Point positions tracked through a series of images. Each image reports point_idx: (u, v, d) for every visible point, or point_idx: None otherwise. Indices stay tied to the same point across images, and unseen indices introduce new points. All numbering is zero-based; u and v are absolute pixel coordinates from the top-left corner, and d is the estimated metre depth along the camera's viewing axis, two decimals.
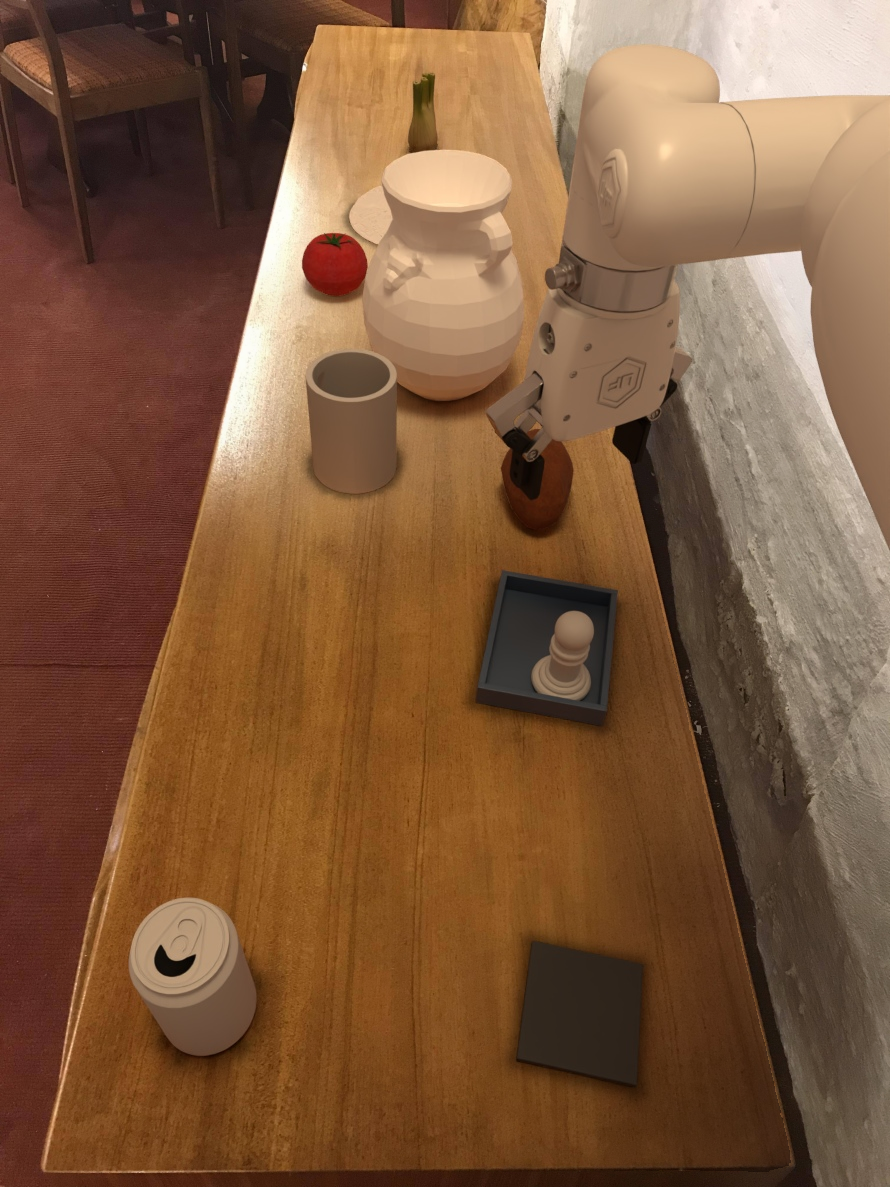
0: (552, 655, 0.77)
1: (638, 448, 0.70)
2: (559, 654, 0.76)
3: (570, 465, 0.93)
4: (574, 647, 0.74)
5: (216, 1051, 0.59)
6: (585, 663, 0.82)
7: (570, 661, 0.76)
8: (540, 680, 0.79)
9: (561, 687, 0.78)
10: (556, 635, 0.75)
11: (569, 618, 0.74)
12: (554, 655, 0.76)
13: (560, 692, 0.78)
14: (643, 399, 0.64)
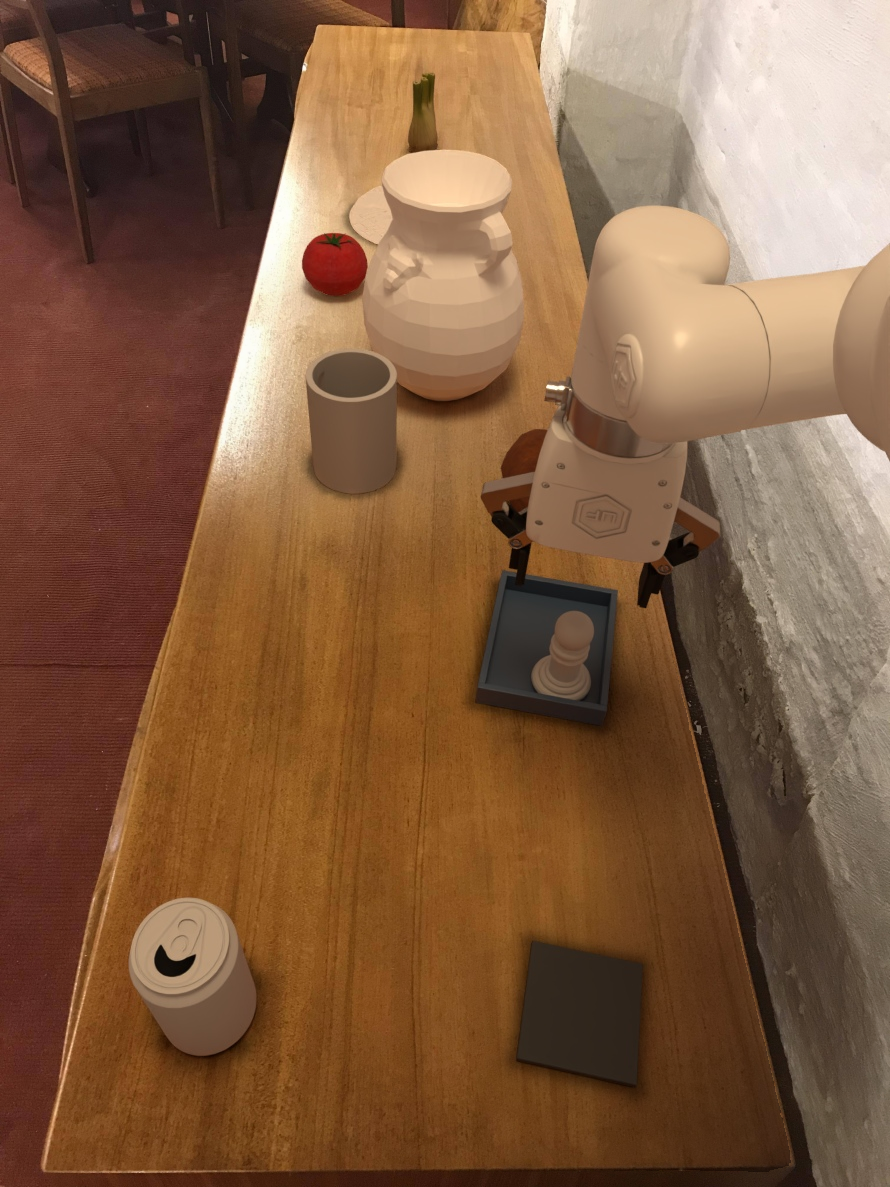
0: (552, 655, 0.77)
1: (642, 593, 0.68)
2: (559, 654, 0.76)
3: None
4: (574, 647, 0.74)
5: (216, 1051, 0.59)
6: (585, 663, 0.82)
7: (570, 661, 0.76)
8: (540, 680, 0.79)
9: (561, 687, 0.78)
10: (556, 635, 0.75)
11: (569, 618, 0.74)
12: (554, 655, 0.76)
13: (560, 692, 0.78)
14: (630, 544, 0.63)
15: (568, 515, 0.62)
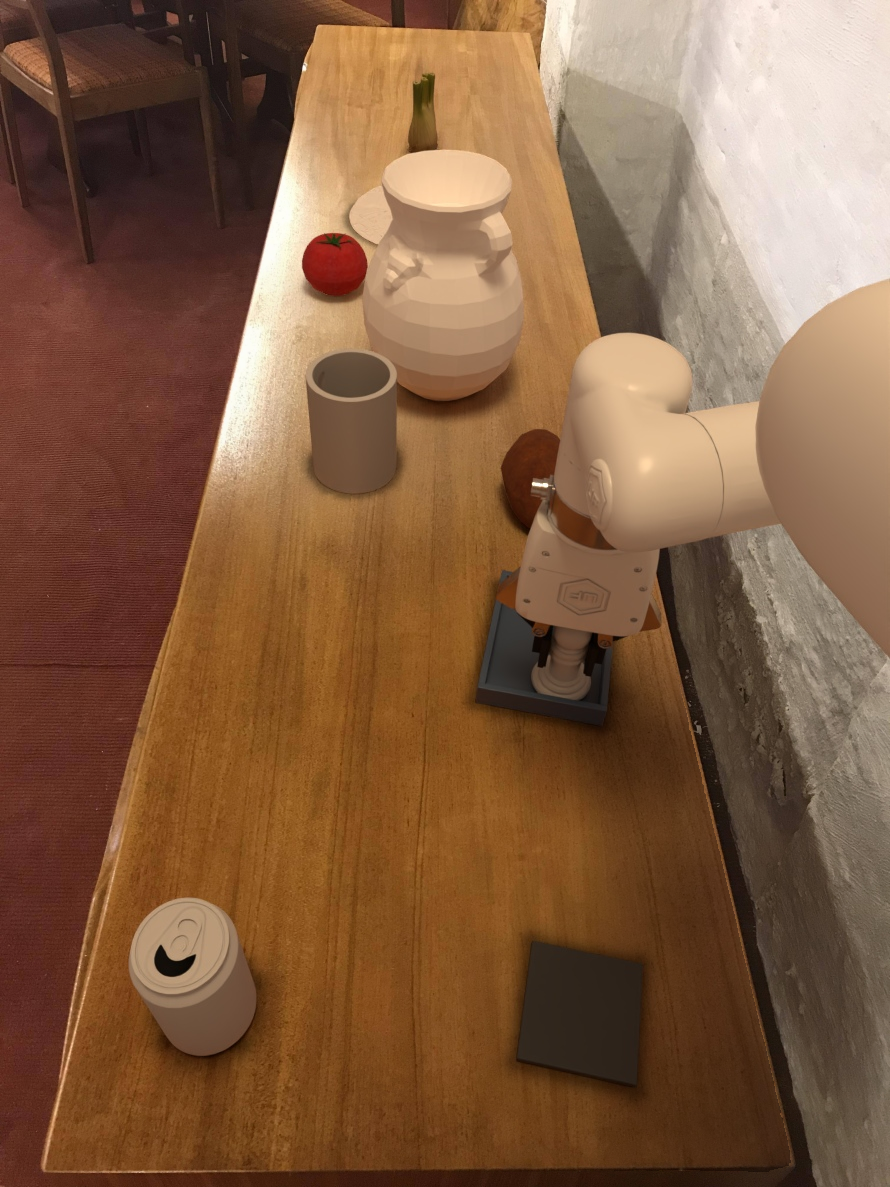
0: (551, 655, 0.77)
1: (587, 664, 0.76)
2: (558, 654, 0.76)
3: None
4: (573, 646, 0.74)
5: (216, 1051, 0.59)
6: None
7: (569, 661, 0.76)
8: (540, 680, 0.79)
9: (561, 687, 0.78)
10: (555, 635, 0.75)
11: None
12: (553, 655, 0.76)
13: (560, 692, 0.78)
14: (610, 621, 0.69)
15: (553, 595, 0.68)
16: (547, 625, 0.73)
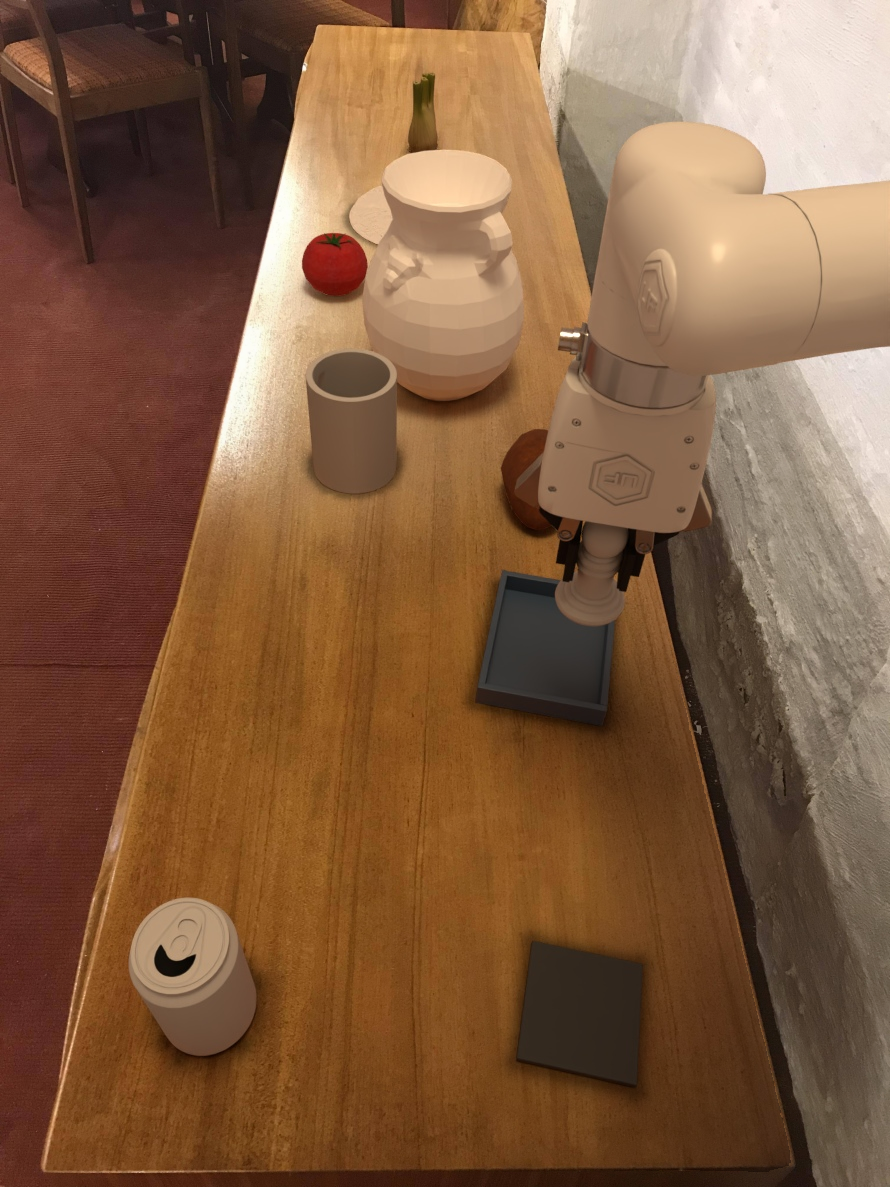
0: (579, 566, 0.65)
1: (621, 575, 0.64)
2: (587, 563, 0.64)
3: None
4: (605, 553, 0.63)
5: (216, 1051, 0.59)
6: (585, 663, 0.82)
7: (601, 572, 0.64)
8: (565, 598, 0.68)
9: (590, 605, 0.67)
10: (584, 540, 0.63)
11: None
12: (581, 566, 0.65)
13: (589, 611, 0.67)
14: (653, 512, 0.58)
15: (584, 479, 0.57)
16: (575, 525, 0.62)
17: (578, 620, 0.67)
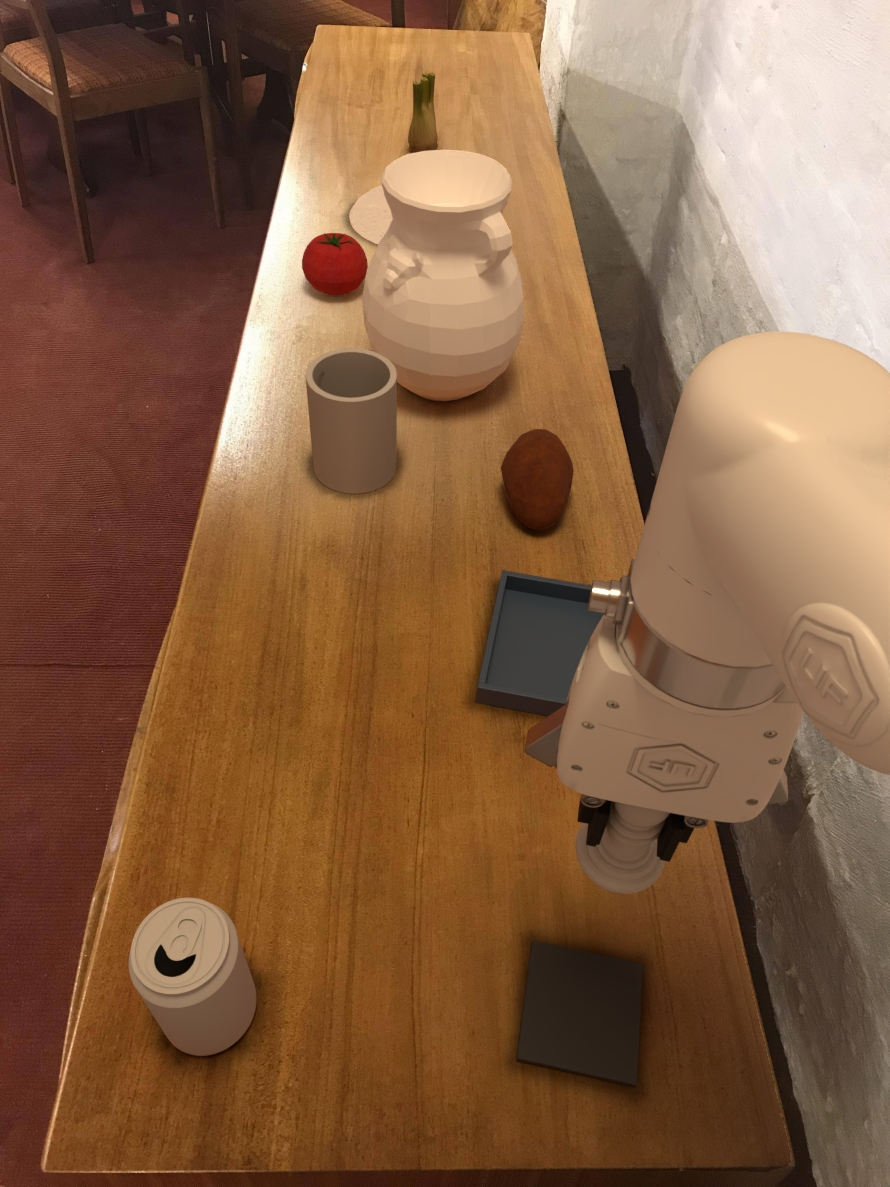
0: (608, 827, 0.50)
1: (664, 846, 0.49)
2: (620, 830, 0.49)
3: (570, 465, 0.93)
4: (644, 824, 0.48)
5: (216, 1051, 0.59)
6: None
7: (637, 839, 0.49)
8: (589, 855, 0.53)
9: (622, 869, 0.52)
10: (615, 804, 0.48)
11: None
12: (612, 828, 0.50)
13: (620, 876, 0.52)
14: (714, 802, 0.43)
15: (621, 763, 0.42)
16: None
17: (606, 887, 0.52)
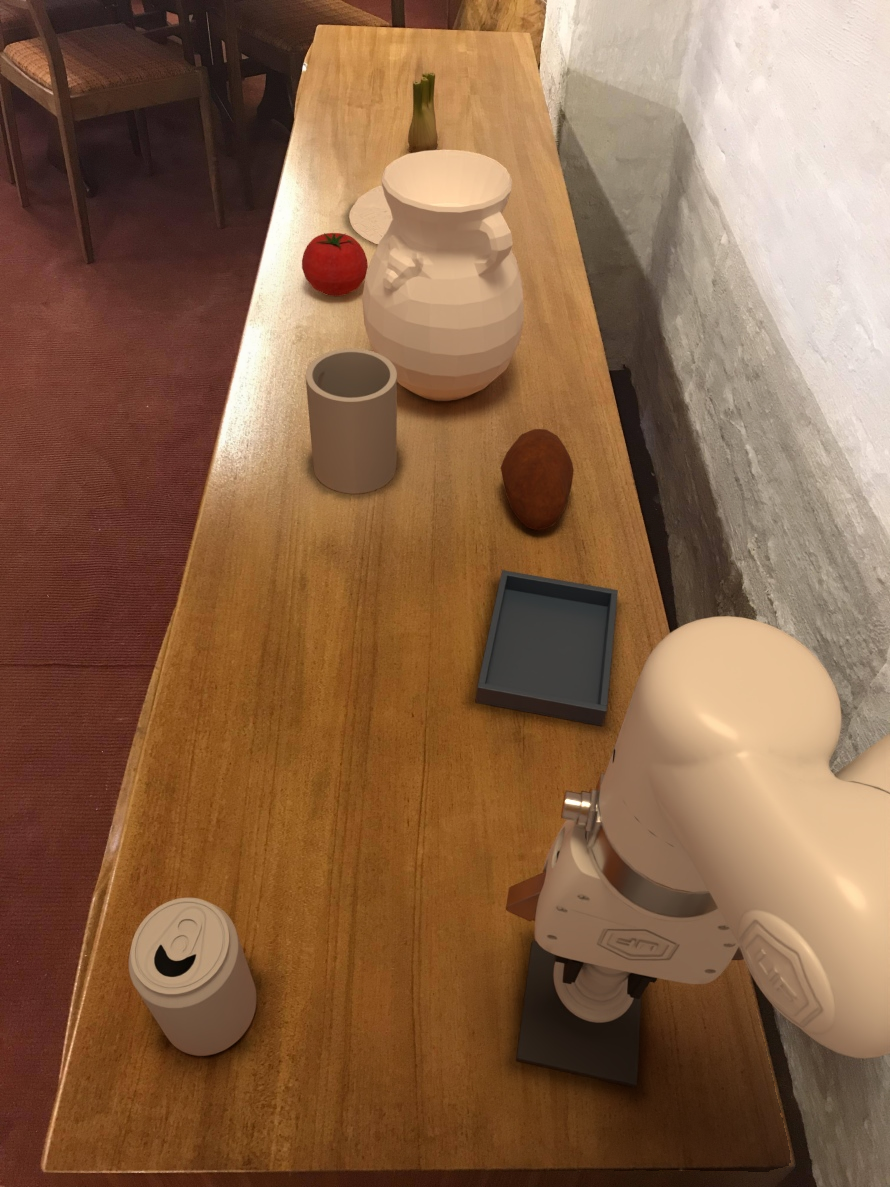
0: (583, 968, 0.54)
1: (633, 987, 0.53)
2: (593, 973, 0.53)
3: (570, 465, 0.93)
4: (615, 972, 0.52)
5: (216, 1051, 0.59)
6: (585, 663, 0.82)
7: None
8: (566, 985, 0.57)
9: (595, 1000, 0.56)
10: None
11: None
12: (586, 969, 0.54)
13: (594, 1007, 0.56)
14: (676, 969, 0.47)
15: (592, 938, 0.46)
16: None
17: (581, 1016, 0.57)
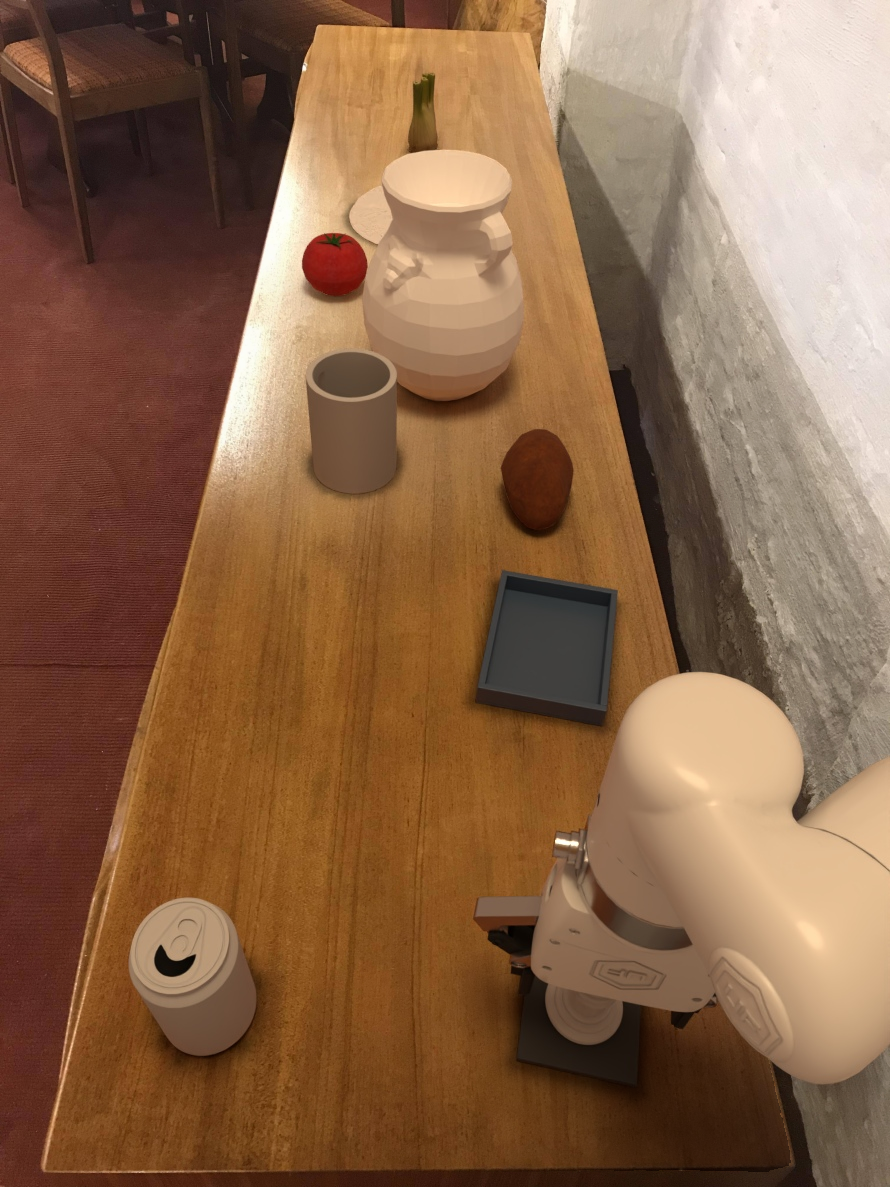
0: (574, 992, 0.58)
1: (678, 1018, 0.55)
2: (583, 997, 0.57)
3: (570, 465, 0.93)
4: None
5: (216, 1051, 0.59)
6: (585, 663, 0.82)
7: (598, 1004, 0.57)
8: (557, 1009, 0.61)
9: (585, 1023, 0.60)
10: None
11: None
12: (576, 993, 0.58)
13: (584, 1030, 0.60)
14: (664, 998, 0.50)
15: (584, 968, 0.49)
16: (529, 959, 0.53)
17: (571, 1039, 0.60)
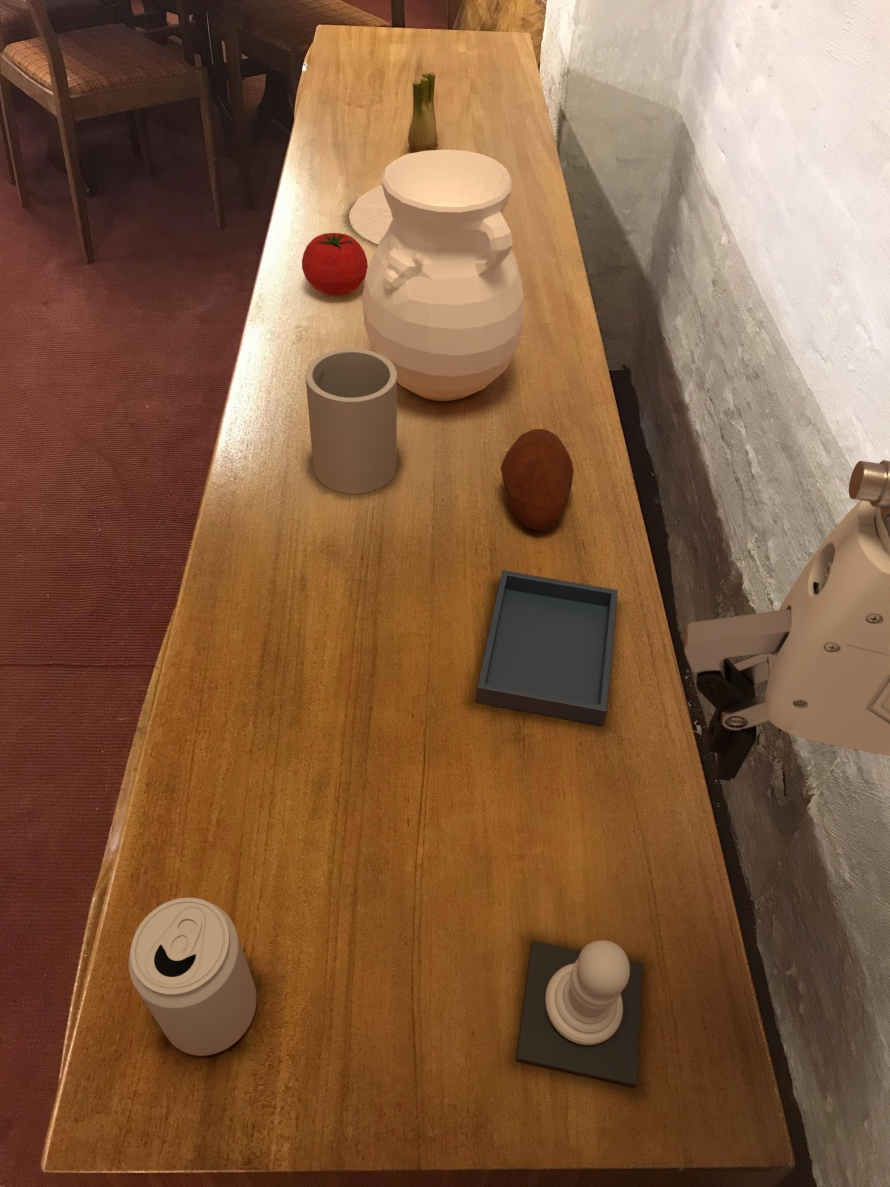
0: (574, 992, 0.58)
1: None
2: (583, 997, 0.57)
3: (570, 465, 0.93)
4: (604, 995, 0.56)
5: (216, 1051, 0.59)
6: (585, 663, 0.82)
7: (598, 1004, 0.57)
8: (557, 1009, 0.61)
9: (585, 1023, 0.60)
10: (580, 977, 0.56)
11: (597, 959, 0.56)
12: (576, 993, 0.58)
13: (584, 1030, 0.60)
14: None
15: (863, 696, 0.34)
16: (756, 711, 0.39)
17: (571, 1039, 0.60)
